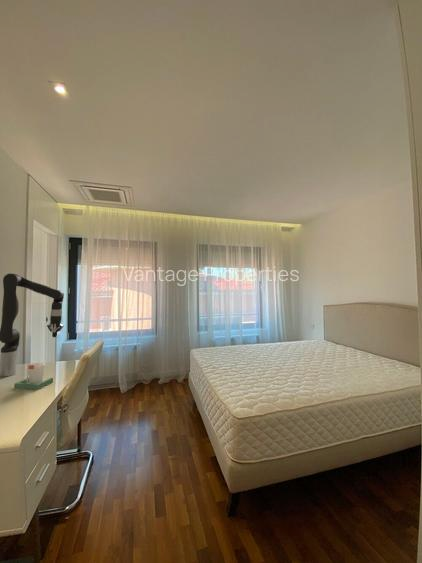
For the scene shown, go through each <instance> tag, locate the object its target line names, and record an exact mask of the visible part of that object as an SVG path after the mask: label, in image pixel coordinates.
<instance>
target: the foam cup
mask: <svg viewBox="0 0 422 563" xmlns="http://www.w3.org/2000/svg"><path fill="white" fill-rule="evenodd" d="M30 365H34V369H29V375H28V378H29V383H31V384H38V383H41V382H43V379H44V373H45V370H46V363H45V362H38V363H32V364H30Z"/></svg>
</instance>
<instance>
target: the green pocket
mask: <svg viewBox="0 0 422 563" xmlns="http://www.w3.org/2000/svg"><path fill="white" fill-rule="evenodd" d="M29 369H34V365H31V364H27V368H26V378H25V379H22V380H19V381H17V382H15V383H14V384H13V385H14V389H21V390H34V391H38V390H40V389H43V388H44V387H46V386H48V385H50V384H52V383H54V377H49V378H47V379H44V380H42V382H41V383H38V384H31V383H29Z"/></svg>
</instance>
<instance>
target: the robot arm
mask: <svg viewBox="0 0 422 563" xmlns="http://www.w3.org/2000/svg"><path fill="white" fill-rule="evenodd" d="M2 285H3V286H2V287H3V296H2V297H3V298H2V307H1V310H2V311H1V312H2V313H1V323H0V342H1V343H3V344H4V345H3V346H2V347H1V348H0V377H9V376H13V375H15V374H16V372H17V360H18V348H19V345H20V340H21V338H20V336H21V334H20V331H19V330H17V329H16V328H13V326H14V323H15V320H16V318H17V317H18V315H19V314H18V313H19V308H20V304H19V303H20V302H19V298H18V295H17V287H20V288H25V289H27V290H30V291H33V292H34V293H37V294H41V295H42V296H47V297H49V298H52V299H53V302H52V303H51V308H50V309H51V310H50V317H49V321H50V322H49V324H47V325H46V327H47V328H48V330H49V332H51V333H52V338H57V335H58V333H59V332H60V331H61V330H62V329H63V328H64V326H65V325H64V324H62V317H63V316H62V315H63V302H64V299H65V297H64V296H65V293H64V291H62V290H60V289H55V288H52V287H50V286H47V285H46V284H41V283H39V282H35V281H32V280H29V279H27V278H25V277H23V276H21V275H19V274H16V273H7V274H5V275H4V276H3V278H2Z"/></svg>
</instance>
